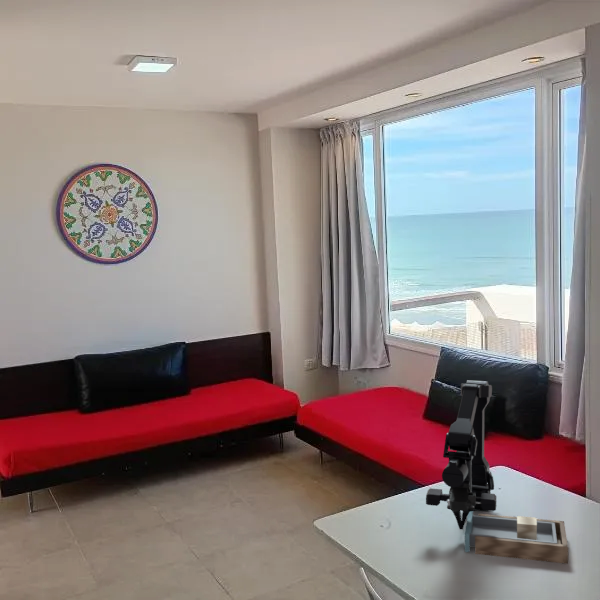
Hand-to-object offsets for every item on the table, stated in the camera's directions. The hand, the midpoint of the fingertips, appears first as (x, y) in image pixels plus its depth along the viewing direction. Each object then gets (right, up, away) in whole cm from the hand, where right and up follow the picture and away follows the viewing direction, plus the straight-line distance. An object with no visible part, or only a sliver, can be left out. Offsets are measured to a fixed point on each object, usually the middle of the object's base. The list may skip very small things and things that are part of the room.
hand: (461, 528), depth 194 cm
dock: (+15, -3, -4) cm, 15 cm away
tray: (+13, -3, -4) cm, 13 cm away
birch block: (+17, -1, -5) cm, 17 cm away
